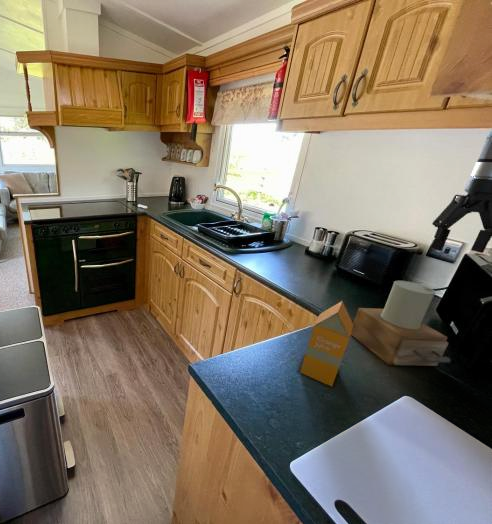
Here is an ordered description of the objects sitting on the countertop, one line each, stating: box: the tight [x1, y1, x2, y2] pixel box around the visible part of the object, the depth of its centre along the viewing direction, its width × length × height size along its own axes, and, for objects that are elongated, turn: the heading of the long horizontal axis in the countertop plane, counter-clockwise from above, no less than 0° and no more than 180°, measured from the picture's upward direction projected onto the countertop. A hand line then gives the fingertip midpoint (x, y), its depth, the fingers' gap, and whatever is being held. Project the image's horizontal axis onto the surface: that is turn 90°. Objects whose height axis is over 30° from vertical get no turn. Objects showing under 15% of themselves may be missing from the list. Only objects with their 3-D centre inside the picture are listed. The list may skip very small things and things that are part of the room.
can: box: [381, 280, 436, 330], centre depth 85 cm, size 9×9×12 cm
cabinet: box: [351, 307, 448, 366], centre depth 89 cm, size 16×14×10 cm
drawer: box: [392, 339, 451, 367], centre depth 85 cm, size 19×13×8 cm
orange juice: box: [299, 300, 353, 388], centre depth 75 cm, size 8×9×20 cm
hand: (456, 250), depth 89 cm, fingers open, 13 cm apart
